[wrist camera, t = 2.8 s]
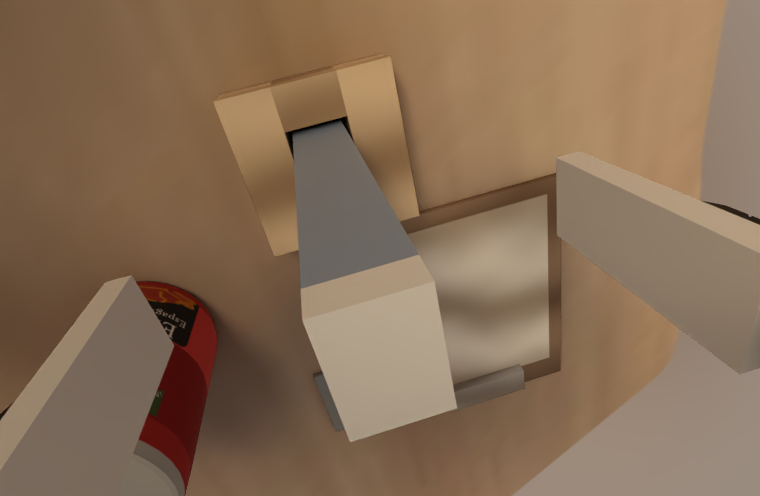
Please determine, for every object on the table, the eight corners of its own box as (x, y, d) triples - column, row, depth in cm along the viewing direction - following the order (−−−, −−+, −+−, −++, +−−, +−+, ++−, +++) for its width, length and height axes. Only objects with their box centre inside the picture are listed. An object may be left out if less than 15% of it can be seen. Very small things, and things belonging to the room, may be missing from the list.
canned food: (206, 270, 24) (154, 426, 15) (229, 372, 28) (200, 550, 18) (60, 284, 23) (-101, 465, 13) (105, 389, 27) (3, 591, 17)
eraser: (292, 126, 22) (302, 320, 7) (337, 114, 22) (434, 281, 7) (311, 186, 23) (350, 442, 9) (352, 175, 23) (457, 408, 9)
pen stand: (221, 94, 20) (213, 101, 18) (379, 53, 21) (390, 56, 19) (275, 236, 24) (274, 256, 22) (407, 199, 25) (419, 215, 23)
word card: (313, 374, 29) (313, 378, 29) (368, 357, 30) (368, 361, 29) (335, 428, 32) (336, 432, 32) (384, 412, 33) (386, 417, 32)
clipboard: (355, 230, 25) (357, 238, 24) (557, 172, 26) (569, 178, 25) (405, 415, 33) (409, 427, 32) (557, 367, 34) (566, 377, 33)
